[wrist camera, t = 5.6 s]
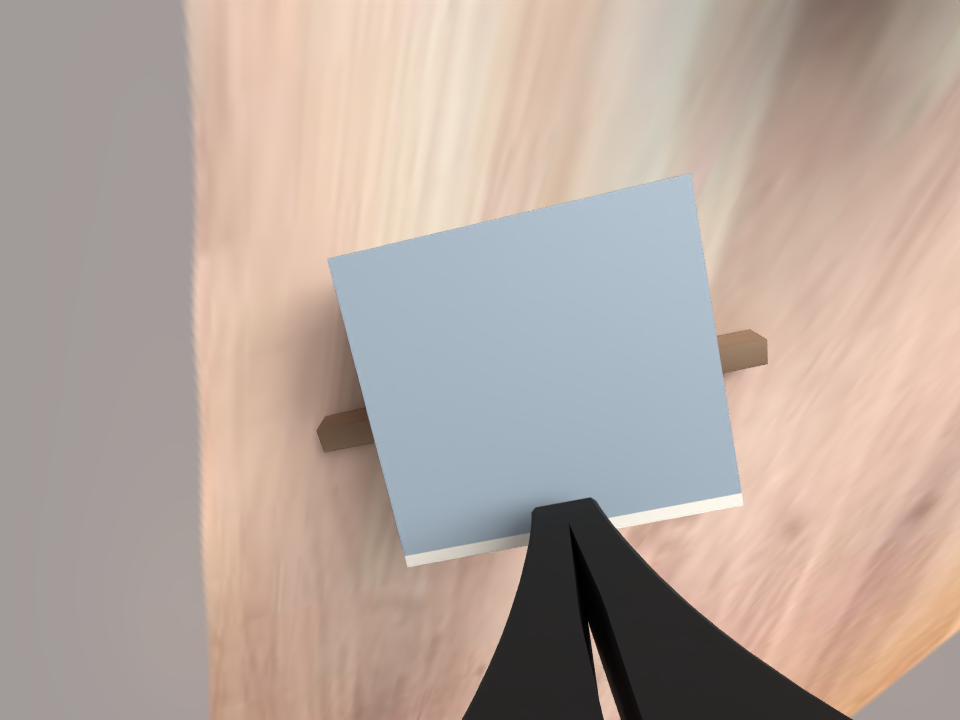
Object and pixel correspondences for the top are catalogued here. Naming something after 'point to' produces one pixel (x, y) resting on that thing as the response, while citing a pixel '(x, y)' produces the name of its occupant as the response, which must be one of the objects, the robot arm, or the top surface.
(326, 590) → the top surface
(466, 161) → the top surface
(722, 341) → the batten
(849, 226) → the top surface
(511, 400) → the block
